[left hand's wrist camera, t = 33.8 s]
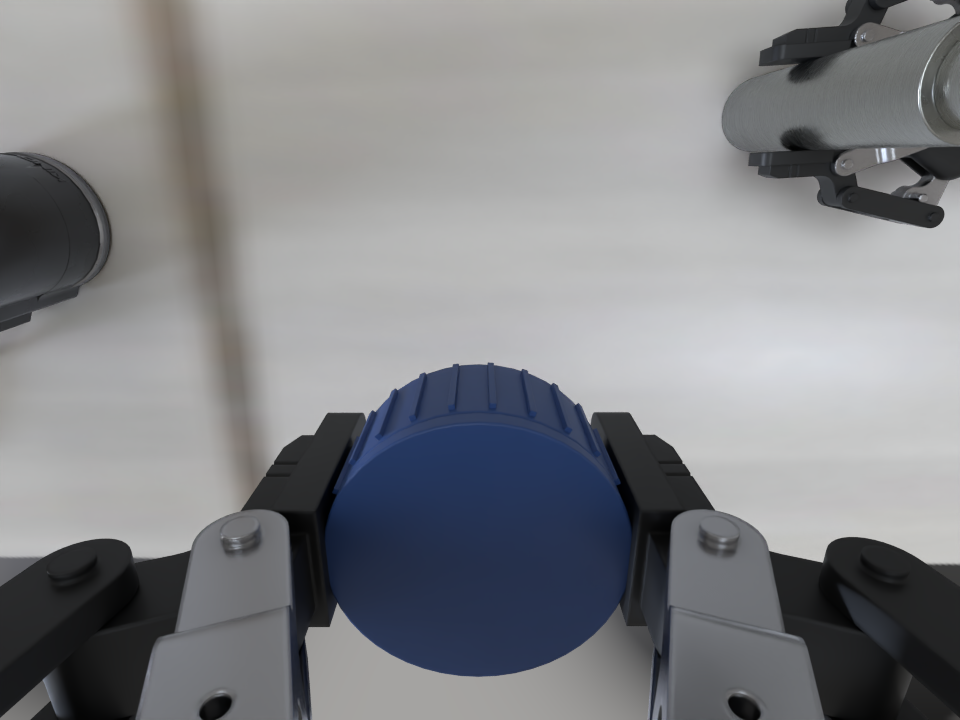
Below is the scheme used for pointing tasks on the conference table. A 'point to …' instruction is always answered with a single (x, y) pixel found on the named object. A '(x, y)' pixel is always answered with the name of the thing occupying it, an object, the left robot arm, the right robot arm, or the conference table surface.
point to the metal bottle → (856, 97)
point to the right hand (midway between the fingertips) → (761, 109)
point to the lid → (478, 524)
